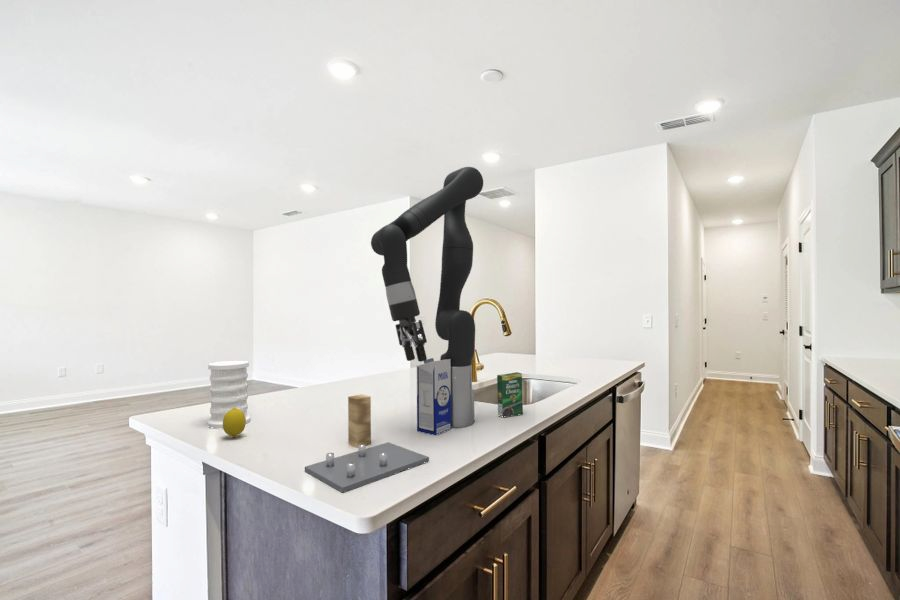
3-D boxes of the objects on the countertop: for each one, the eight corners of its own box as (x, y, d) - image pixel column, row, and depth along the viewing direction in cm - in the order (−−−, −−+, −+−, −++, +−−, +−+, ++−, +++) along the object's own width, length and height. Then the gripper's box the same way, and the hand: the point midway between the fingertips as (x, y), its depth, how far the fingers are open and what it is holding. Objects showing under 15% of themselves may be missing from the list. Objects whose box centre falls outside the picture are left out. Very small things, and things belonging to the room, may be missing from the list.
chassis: (388, 446, 108) (388, 432, 108) (429, 461, 97) (429, 445, 97) (304, 471, 92) (304, 454, 92) (342, 492, 81) (342, 474, 81)
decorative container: (228, 430, 122) (228, 366, 122) (197, 426, 126) (197, 364, 126) (259, 419, 133) (258, 361, 133) (229, 416, 137) (229, 359, 137)
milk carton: (435, 435, 116) (434, 360, 116) (416, 431, 120) (416, 358, 120) (451, 429, 122) (450, 357, 122) (432, 425, 126) (432, 356, 126)
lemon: (240, 433, 119) (239, 404, 120) (249, 437, 116) (249, 407, 116) (219, 438, 115) (218, 408, 115) (228, 442, 112) (228, 411, 112)
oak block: (362, 440, 112) (361, 394, 112) (370, 444, 109) (370, 396, 109) (348, 444, 109) (348, 396, 109) (357, 448, 107) (357, 399, 107)
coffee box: (502, 418, 133) (501, 375, 133) (496, 416, 135) (496, 374, 135) (523, 414, 136) (523, 373, 136) (517, 412, 139) (517, 371, 139)
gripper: (425, 295, 110) (440, 357, 110) (406, 300, 123) (419, 356, 123) (397, 301, 107) (413, 365, 107) (381, 306, 119) (395, 363, 119)
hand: (416, 360), depth 115 cm, fingers open, 8 cm apart
